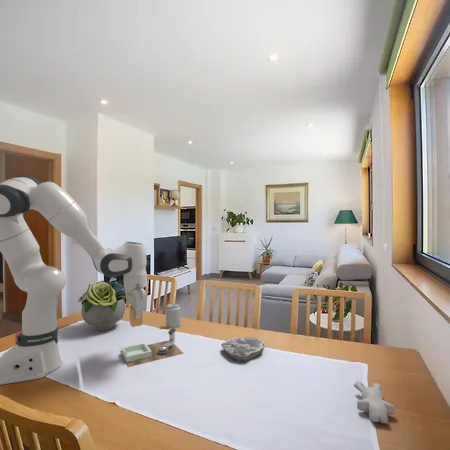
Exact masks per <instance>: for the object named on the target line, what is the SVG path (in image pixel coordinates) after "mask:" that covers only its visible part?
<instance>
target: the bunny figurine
mask: <svg viewBox="0 0 450 450" xmlns="http://www.w3.org/2000/svg"><path fill="white" fill-rule="evenodd" d="M353 386H354V388H355V389H356V390H357V391H359V392H360V393H361V399H359V400H356V409H357V410H359V411H361V412H364V413H367V414H368V420H369V421H371V422H373V423H379V422H380V423H381V424H387V425H388V424H389V417H388V415H389V416H390V415H395V405H394V404H393V403H390V402H388V401H386V400H384V399H383V393H382V391H383V390H382V386H381V385H380V384H379V383H377V382H376V383H375V382H374V383H372V385H371V387H370V386H365V384H364V383H363V382H361V381H358V380H357V381H355V382H354V384H353Z"/></svg>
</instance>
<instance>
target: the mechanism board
mask: <svg viewBox="0 0 450 450" xmlns="http://www.w3.org/2000/svg"><path fill="white" fill-rule="evenodd" d="M169 340H170V339H169ZM169 340H164V341H160V342H155V343H150V344H147V346H148V347H149V348H150V350H151V351H152V358H147V359H143V360H139V361H135V362H131V363H127V364H126V362H125V360H124V358H123V356H122V350H119V353H120V354H121V358H122V359H123V360H124V363H125V365H126V366H127V368H131V367H134V366H139V365H143V364H146V363H151V362H155V361H159V360H160V361H161V360H163V359H167V358H172V357H175V356H180V355H183V354H185V353H184V352H183V351H182V350H181V349H180V348H179V347H178V346H177V345H176V344H175V343H174V344H172V345H171V346H170V347H169V348H167V350H166V351H164V352H161V351H159V347H160V346H163V345H164V344H166V343H167V342H168V341H169Z"/></svg>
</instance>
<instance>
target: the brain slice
mask: <svg viewBox="0 0 450 450" xmlns="http://www.w3.org/2000/svg"><path fill="white" fill-rule="evenodd" d="M220 345H221V348H222V350H223V351H225V353H226V354H227V356H228V357H230V358H231V359H234V360H237V362H248V361H249V360H250V361H251V360H252V359H255V358H256V357H258V356H260V354H262V352H263V349H264V346H265V341H264V340H262V339H260V338H256V337H251V336H249V337H247V336H246V337H244V336H243V337H231V338H228V339H226V342H225V341H224V342H223V343H221V344H220Z"/></svg>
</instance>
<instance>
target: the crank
mask: <svg viewBox="0 0 450 450" xmlns="http://www.w3.org/2000/svg"><path fill="white" fill-rule="evenodd" d="M176 332H177V331H176V328H170V329H169V330H168V333H167V334H168V335H169V341H168V340H167V341H168V342H167V343H166V344H164V345H163V346H160V347H159V351H161V352H164V351H166V350H167V348H169V347H170V346H171V345H172V344H175V343H176V341H175V339H176V338H175V336H176V335H175V333H176Z"/></svg>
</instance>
